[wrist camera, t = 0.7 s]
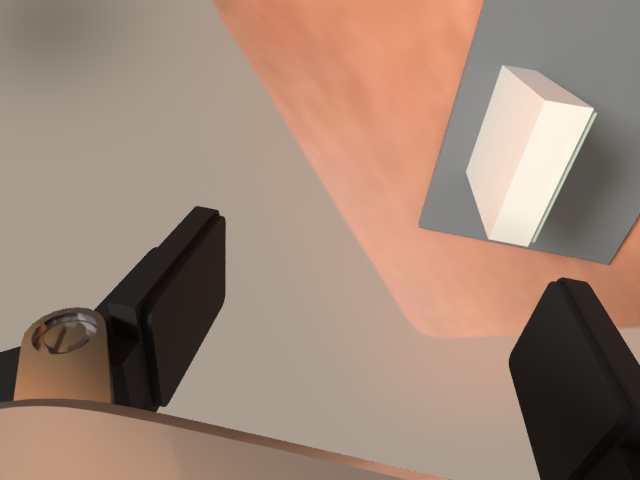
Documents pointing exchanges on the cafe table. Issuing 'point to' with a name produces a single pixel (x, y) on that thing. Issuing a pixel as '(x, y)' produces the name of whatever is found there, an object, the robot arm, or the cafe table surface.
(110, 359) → the robot arm
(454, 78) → the cafe table surface
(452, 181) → the mat
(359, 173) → the cafe table surface
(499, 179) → the tile
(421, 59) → the cafe table surface
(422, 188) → the cafe table surface
